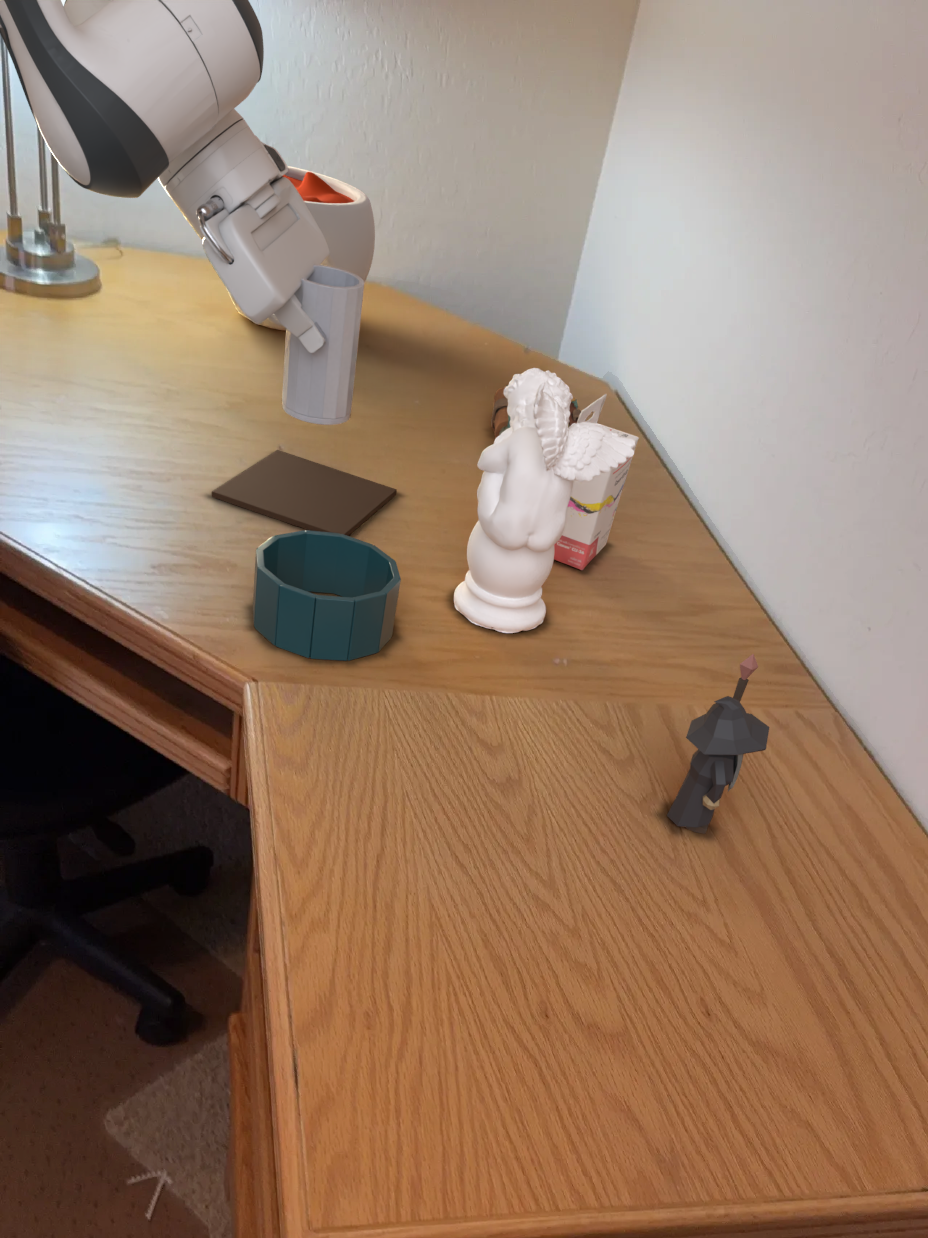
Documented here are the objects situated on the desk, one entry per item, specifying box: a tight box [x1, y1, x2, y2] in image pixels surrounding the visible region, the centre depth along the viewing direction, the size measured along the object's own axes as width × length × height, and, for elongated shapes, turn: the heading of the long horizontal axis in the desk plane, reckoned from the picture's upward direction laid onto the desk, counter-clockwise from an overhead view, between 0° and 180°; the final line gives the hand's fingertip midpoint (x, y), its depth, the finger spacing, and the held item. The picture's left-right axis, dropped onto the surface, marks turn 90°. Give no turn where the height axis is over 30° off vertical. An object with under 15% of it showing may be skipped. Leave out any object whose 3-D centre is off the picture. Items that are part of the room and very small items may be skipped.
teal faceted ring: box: [252, 529, 402, 662], centre depth 88 cm, size 12×12×6 cm
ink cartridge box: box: [554, 393, 640, 571], centre depth 106 cm, size 9×5×15 cm, turn 157°
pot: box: [225, 165, 376, 332], centre depth 142 cm, size 24×24×18 cm
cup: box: [281, 264, 365, 426], centre depth 98 cm, size 7×7×12 cm
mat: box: [211, 449, 398, 536], centre depth 108 cm, size 14×14×1 cm
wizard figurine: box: [666, 653, 770, 835], centre depth 76 cm, size 8×6×12 cm
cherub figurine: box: [453, 367, 635, 634], centre depth 90 cm, size 12×12×22 cm
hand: (329, 334), depth 98 cm, fingers closed on cup, 7 cm apart
